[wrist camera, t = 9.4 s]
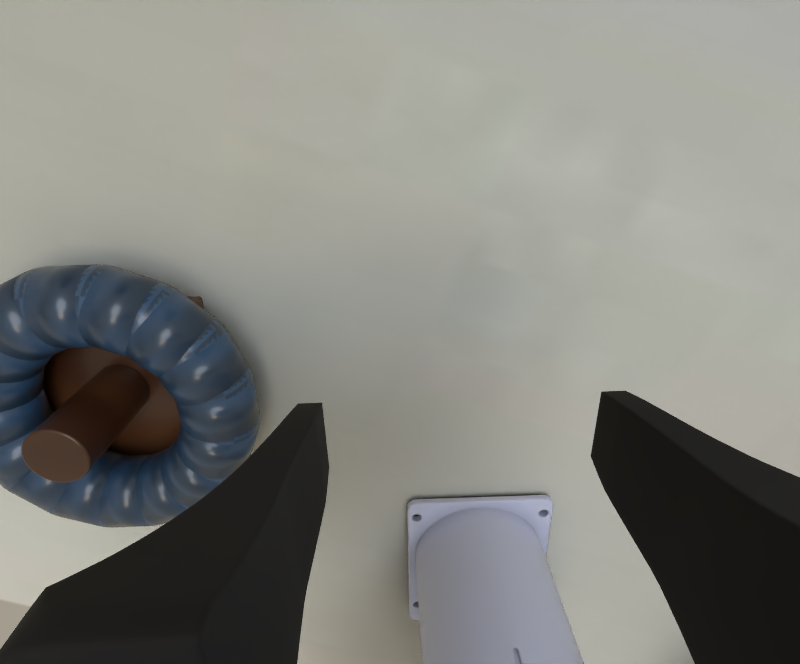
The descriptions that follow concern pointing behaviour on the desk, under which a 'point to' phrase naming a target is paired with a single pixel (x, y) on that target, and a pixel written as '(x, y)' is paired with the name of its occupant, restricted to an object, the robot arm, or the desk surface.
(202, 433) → the ring
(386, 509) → the desk surface
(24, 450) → the peg stand
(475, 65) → the desk surface
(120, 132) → the desk surface
